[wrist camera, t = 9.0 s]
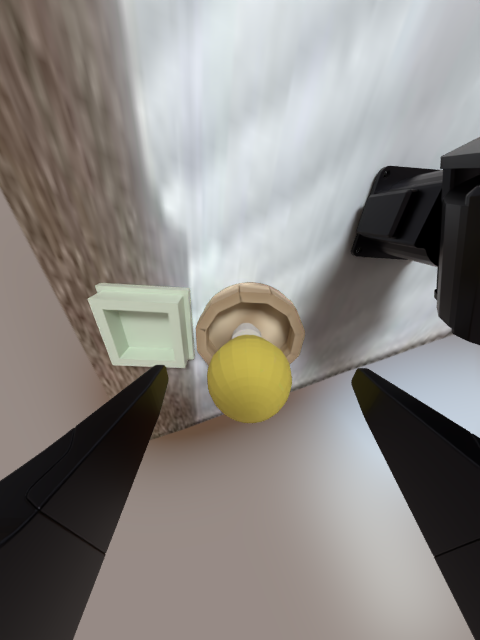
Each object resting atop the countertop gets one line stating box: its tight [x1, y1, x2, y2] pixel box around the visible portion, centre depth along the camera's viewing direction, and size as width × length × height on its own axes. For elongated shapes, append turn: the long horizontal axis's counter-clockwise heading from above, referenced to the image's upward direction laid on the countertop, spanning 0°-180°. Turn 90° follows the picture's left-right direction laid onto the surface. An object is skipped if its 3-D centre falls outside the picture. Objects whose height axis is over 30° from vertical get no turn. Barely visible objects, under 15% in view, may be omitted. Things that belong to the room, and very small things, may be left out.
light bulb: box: [207, 323, 292, 423], centre depth 16 cm, size 7×7×10 cm
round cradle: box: [196, 282, 305, 365], centre depth 20 cm, size 11×11×3 cm
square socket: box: [88, 283, 195, 368], centre depth 20 cm, size 9×9×3 cm
